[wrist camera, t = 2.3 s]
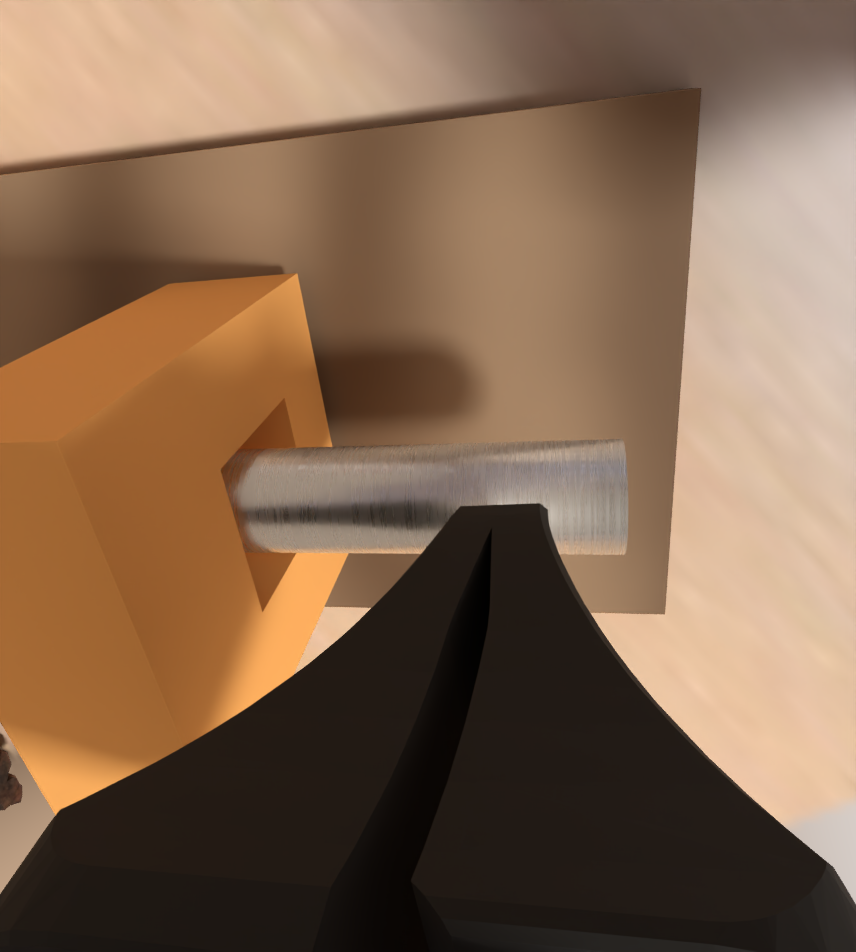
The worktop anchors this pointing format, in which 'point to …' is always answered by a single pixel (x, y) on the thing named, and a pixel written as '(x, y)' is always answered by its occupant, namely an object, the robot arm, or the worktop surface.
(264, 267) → the rod stand
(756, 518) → the worktop surface
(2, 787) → the dark brown lumpy piece
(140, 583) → the collar
